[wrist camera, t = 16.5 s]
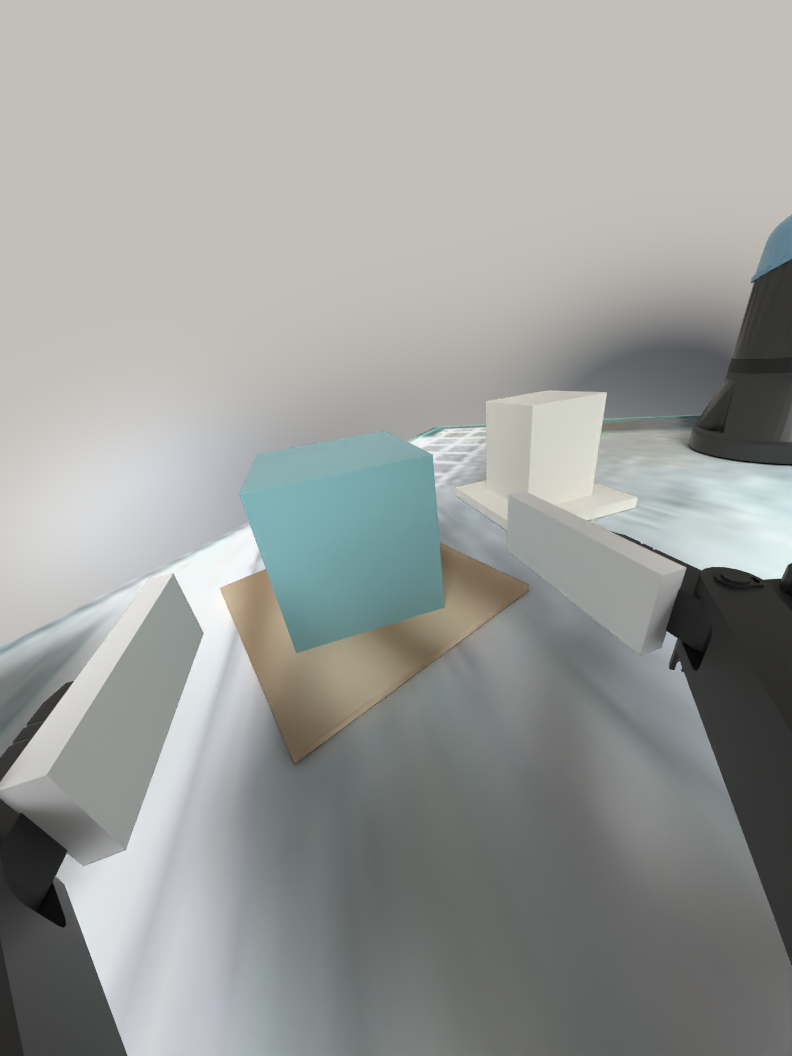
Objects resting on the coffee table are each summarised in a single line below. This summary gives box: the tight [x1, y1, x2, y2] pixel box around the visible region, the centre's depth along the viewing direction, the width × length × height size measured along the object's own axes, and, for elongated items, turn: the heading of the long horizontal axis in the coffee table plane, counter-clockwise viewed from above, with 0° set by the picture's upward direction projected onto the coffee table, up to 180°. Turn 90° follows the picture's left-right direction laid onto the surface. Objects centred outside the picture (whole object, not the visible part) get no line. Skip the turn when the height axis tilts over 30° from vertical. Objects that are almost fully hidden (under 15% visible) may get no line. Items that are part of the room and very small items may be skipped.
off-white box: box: [455, 391, 638, 531], centre depth 31 cm, size 12×12×10 cm
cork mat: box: [220, 543, 529, 764], centre depth 23 cm, size 16×16×1 cm
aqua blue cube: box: [239, 431, 444, 653], centre depth 21 cm, size 9×9×10 cm
